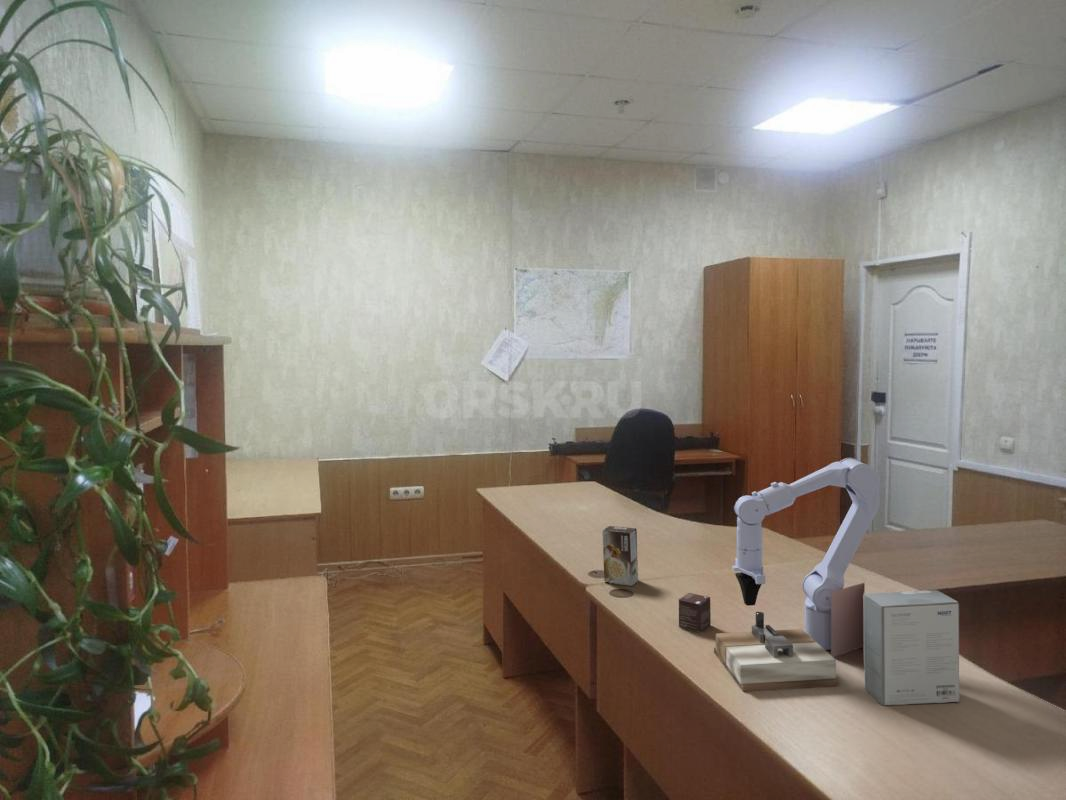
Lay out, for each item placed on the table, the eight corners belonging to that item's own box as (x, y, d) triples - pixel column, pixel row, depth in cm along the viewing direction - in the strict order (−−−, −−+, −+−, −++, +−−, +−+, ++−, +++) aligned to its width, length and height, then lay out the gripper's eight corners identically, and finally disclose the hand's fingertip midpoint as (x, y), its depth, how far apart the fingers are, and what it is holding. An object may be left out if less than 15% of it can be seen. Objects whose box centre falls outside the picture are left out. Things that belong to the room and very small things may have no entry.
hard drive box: (937, 684, 147) (938, 589, 145) (960, 703, 139) (962, 602, 138) (862, 688, 146) (862, 592, 145) (881, 706, 139) (882, 605, 137)
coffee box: (639, 580, 218) (638, 528, 216) (631, 586, 212) (630, 533, 211) (610, 576, 222) (609, 525, 221) (603, 582, 216) (601, 530, 215)
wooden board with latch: (713, 652, 165) (713, 620, 165) (798, 647, 166) (798, 615, 166) (742, 691, 146) (742, 655, 146) (838, 685, 147) (838, 650, 147)
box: (689, 620, 185) (689, 592, 184) (711, 625, 181) (711, 596, 181) (678, 627, 180) (677, 599, 180) (700, 633, 176) (700, 604, 176)
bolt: (754, 629, 164) (754, 611, 164) (762, 629, 164) (761, 611, 164) (765, 641, 157) (765, 622, 157) (773, 641, 157) (773, 622, 157)
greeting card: (860, 644, 167) (861, 581, 166) (890, 656, 160) (890, 590, 159) (827, 656, 161) (828, 590, 160) (857, 668, 155) (857, 600, 154)
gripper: (722, 540, 175) (723, 594, 176) (743, 557, 161) (743, 616, 162) (751, 539, 176) (751, 593, 176) (774, 556, 161) (774, 615, 162)
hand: (749, 604), depth 169 cm, fingers closed
